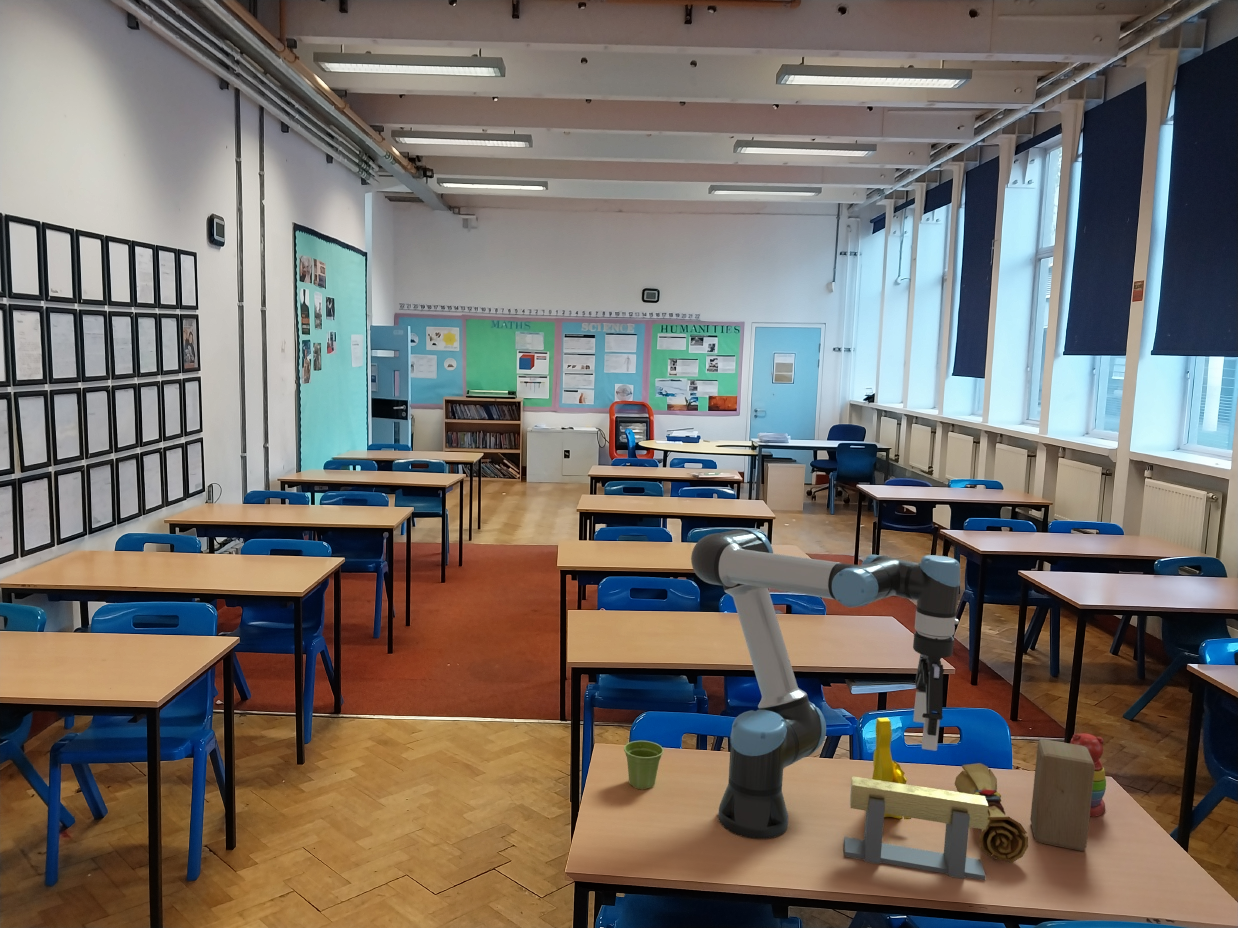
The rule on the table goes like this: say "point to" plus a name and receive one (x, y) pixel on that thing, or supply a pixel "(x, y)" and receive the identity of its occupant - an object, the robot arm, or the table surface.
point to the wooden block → (1062, 794)
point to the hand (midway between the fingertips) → (924, 734)
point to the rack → (945, 862)
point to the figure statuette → (886, 758)
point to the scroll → (993, 815)
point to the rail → (919, 801)
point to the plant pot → (642, 763)
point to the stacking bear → (1099, 773)
